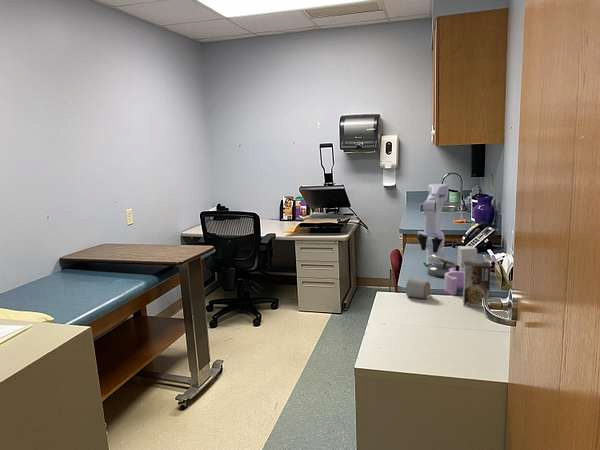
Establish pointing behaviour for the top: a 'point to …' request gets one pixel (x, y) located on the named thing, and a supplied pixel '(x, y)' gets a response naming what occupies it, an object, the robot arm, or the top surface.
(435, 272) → the cooker pot
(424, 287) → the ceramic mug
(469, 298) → the coffee box
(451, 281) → the pink rounded block
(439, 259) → the cooker lid
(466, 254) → the supplement box
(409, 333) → the top surface
